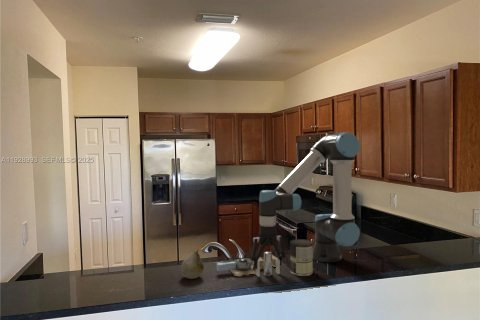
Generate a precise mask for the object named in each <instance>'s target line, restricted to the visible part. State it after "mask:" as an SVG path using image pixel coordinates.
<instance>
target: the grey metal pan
mask: <svg viewBox="0 0 480 320" xmlns="http://www.w3.org/2000/svg"><path fill="white" fill-rule="evenodd" d="M252 266H253V261H252V260H251V259H250V258H245V257H244V258H243V257H242V258H237V259H235V260H234V261H227V262H219V263H218V262H217V263H216V271H218V272H222V271H230V270H233V269H237V270H250V269H251V268H252Z"/></svg>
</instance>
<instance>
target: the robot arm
mask: <svg viewBox="0 0 480 320" xmlns="http://www.w3.org/2000/svg"><path fill="white" fill-rule="evenodd" d="M360 147H361V144H360V140H359V139H358V137H357V136H356V135H355V134H354V133H351V132H345V131H343V132H335V133H334V132H333V133H328V134H326V135H324V136H323V137H322V138H320V139H319V140H318V141H317V142H316V143H314V145H313V146H312V147H311V148H310V149H309V153H308V154H307V155H306V156H305V157H304V159H302V160H301V161H300V163H299V164H298V165H297V166H296V167H295V168H294V169H293V170H292V171H291V172H290V173H289V174H288V175H287V176H286V177H285V179H284V180H283V181H281V183H279V185H278V186H276V188H275V189H274V190H271V189H270V190H269V189H265V190H264V189H263V190H260V192H259V197H258V198H259V200H258V201H259V206H258V207H259V227H258V228H259V231H258V234H259V236H257V237H252V247H251V250H250V255H249V259H250V260H251V261H252V262H253V261H254V265H253V266H254V268H255V269H256V274H255V275H256V277H260V273H261V272H260V271H261V269H260V262H259V261H258V260H259V257H260V258H261V255H262V253H263V251H264V250H265V248H266V247H268V246H270V247H272V250H273V251H274V254H275V255H276V268H275V273H276V274H277V275H280V273H281V271H280V270H281V269H280V268H281V266H282V260H283V258H286V253H285V249H284V243H283V236H282V235H277V212H286V211H287V212H288V211H289V212H290V211H292V212H293V211H298V210H300V209H301V207H302V198H301V196H300V194H298V193H294V192H295V191H296V190H297V189H298V187H300V186H301V185H302V184H303V182H304V181H306V179H307V178H308V177H309V176H310V175H311V174H312V173H313V172H314V171H315V169H317V167H318V166H319V165H321V163H326V161H327V160H328V159H329V161H330V163H331V164H332V213H322V214H321V213H320V214H316V215H315V218H314V244H313V260H314V261H318V262H323V263H336V262H340V261H341V260H342V259H343V258H342V253H341V249H340V246H343V247H351V246H353V245H355V243H356V242H357V241H358V240H359V238H360V235H361V232H360V228H359V226H358V225H357V224H356V219H355V216H354V214H353V213H352V165H353V163H354V162H355V161H356V155H358V153H359V152H360V149H361V148H360ZM276 241H277V243H278V244H277V245H278V246H277V245H276ZM258 243H259V245H258Z"/></svg>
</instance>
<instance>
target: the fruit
mask: <svg viewBox="0 0 480 320" xmlns="http://www.w3.org/2000/svg"><path fill="white" fill-rule="evenodd" d="M198 252H199V249H196V251H194V250H193V251H191V252H190V253H189V254H188V255H187V256H186V258H185V259H184V260H183V261H182V263H181V266H180V272H181V275H182V276H183V277H184V278H186V279H190V280H193V279H198V278H200V276H201V275H202V274H203V271H204V269H205V265H204V262H203V261H202V259H201V256H200V254H199V253H198Z"/></svg>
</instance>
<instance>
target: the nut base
mask: <svg viewBox="0 0 480 320" xmlns="http://www.w3.org/2000/svg"><path fill="white" fill-rule="evenodd" d="M229 272H231V273H232V274H233V275H234V276H238V277H243V276H242V275H246V276H250V275H249V274H254V275H256V269H255V268H254V265H252V268H251V269H250V270H237V269H233V270H229Z"/></svg>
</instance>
